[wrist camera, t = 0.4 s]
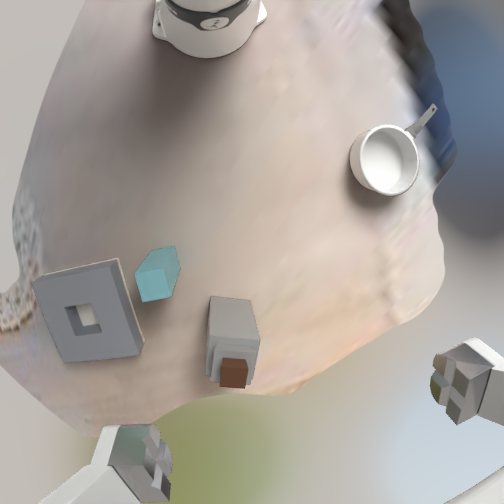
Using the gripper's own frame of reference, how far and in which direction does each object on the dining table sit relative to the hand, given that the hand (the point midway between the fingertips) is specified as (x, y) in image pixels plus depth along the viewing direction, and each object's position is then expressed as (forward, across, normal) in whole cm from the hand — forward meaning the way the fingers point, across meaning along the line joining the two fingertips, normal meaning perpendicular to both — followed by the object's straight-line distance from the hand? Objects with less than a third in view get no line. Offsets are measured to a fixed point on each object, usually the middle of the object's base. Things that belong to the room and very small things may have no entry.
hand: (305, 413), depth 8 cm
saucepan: (+45, -29, -7) cm, 54 cm away
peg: (+45, +12, +6) cm, 47 cm away
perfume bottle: (+45, +4, +18) cm, 49 cm away
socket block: (+45, +28, +12) cm, 54 cm away
